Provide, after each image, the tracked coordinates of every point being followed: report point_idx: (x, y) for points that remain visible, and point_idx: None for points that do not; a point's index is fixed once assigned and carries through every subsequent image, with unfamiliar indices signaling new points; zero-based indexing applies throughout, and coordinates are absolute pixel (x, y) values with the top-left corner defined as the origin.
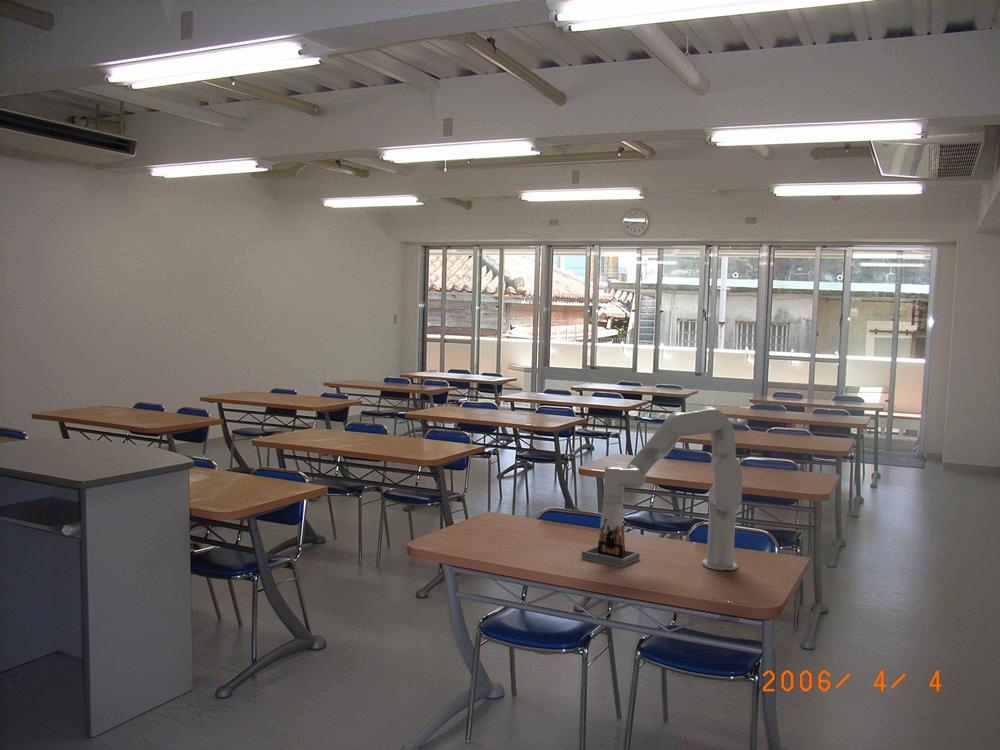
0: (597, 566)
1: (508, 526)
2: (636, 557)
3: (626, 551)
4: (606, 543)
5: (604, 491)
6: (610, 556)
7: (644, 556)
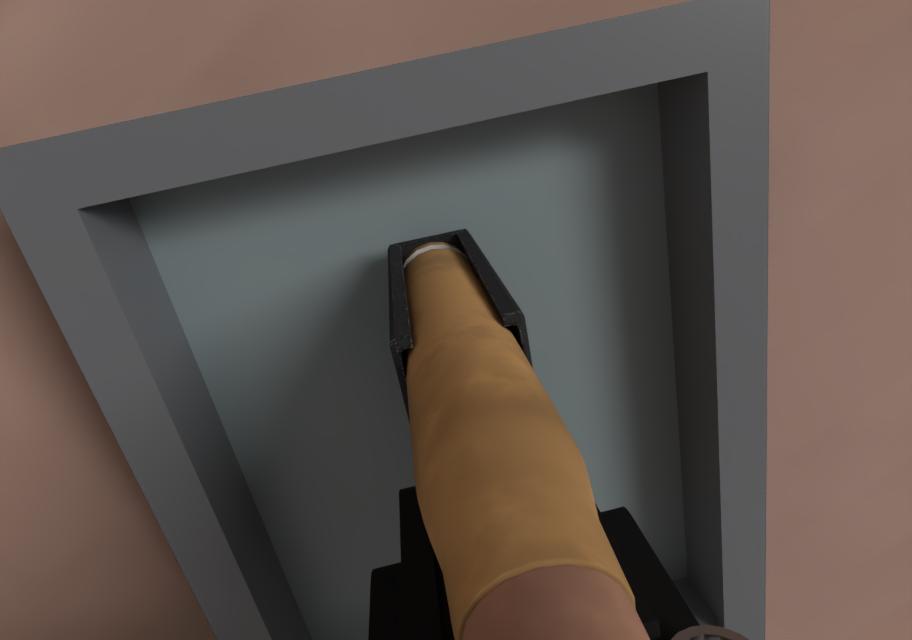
0: (30, 550)
1: None
2: None
3: (717, 526)
4: (402, 557)
5: None
6: None
7: (872, 527)
